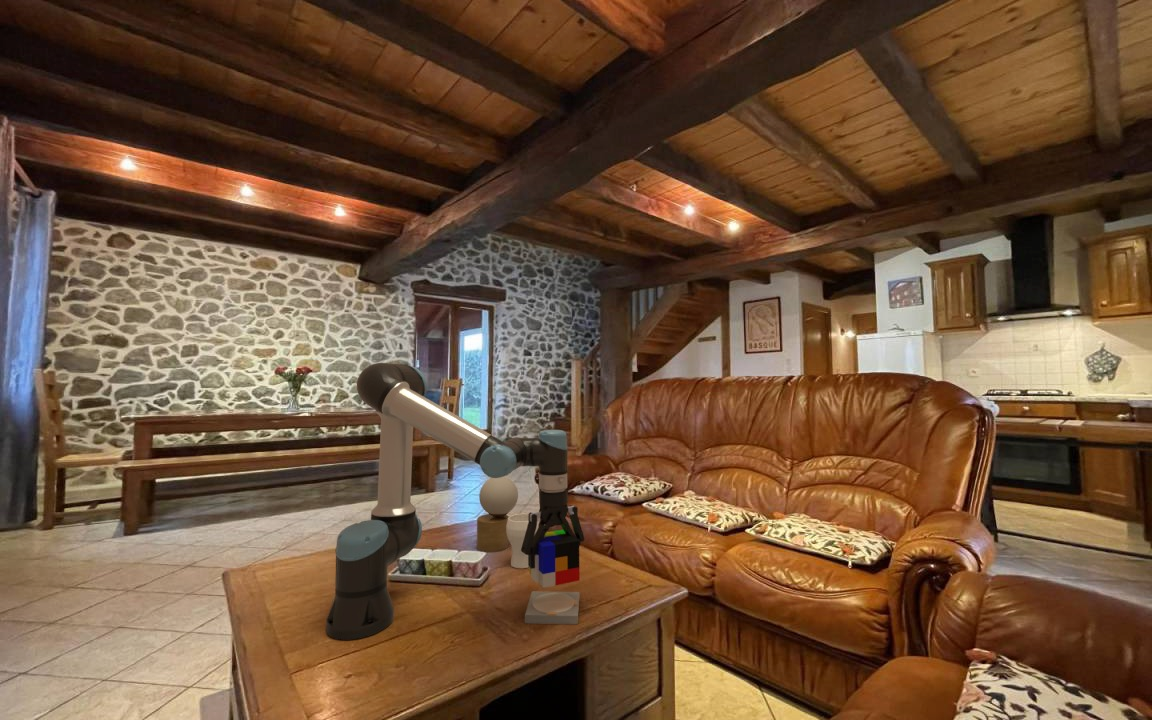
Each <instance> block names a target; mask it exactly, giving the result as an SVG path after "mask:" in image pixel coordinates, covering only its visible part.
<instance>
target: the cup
mask: <svg viewBox="0 0 1152 720" xmlns="http://www.w3.org/2000/svg"><path fill="white" fill-rule="evenodd" d="M528 515H529V513H517V514H512V515H509V516H508V521H507V525H506V532H507V536H508V543H509V545H510V546H511V557H510V567H513V568H515V569H526V568H530V567H529V566H528V555H526V554H524V553H523V552H522V551H521V548H522V544H523V541H524V537H525V533H526V530H527V526H528V522H529V518H528ZM538 527H539V521H537V527H536V530H535V534H536V532H537V529H538Z"/></svg>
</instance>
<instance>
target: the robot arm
mask: <svg viewBox="0 0 1152 720" xmlns="http://www.w3.org/2000/svg"><path fill="white" fill-rule="evenodd" d="M356 390H357V394H358V397H359V398H360V399H361V400H362V402H363V403H365V404H366V405H367V406H369V407H370V408H371V409H374V410H375V414H377V415H378V416H379V417H380V436H379V437H380V440H379V456H378V457H379V458H378V459H379V460H378V463H379V464H378V481H377V482H378V486H377V505H376V506H375V507H374V508H373V509H372V510H371V511H370V520H368V519H367V520H363V521H360V522H356V523H353V524H350V525H349V526H347V527H344V529H342V530H341V531H340V532H339V534H338V535H337V538H336V545H335V546H336V547H335V579H334V580H335V582H334V583H335V585H334V587H335V591H334V593H335V594H334V599H333V601H332V604H331V606H330V609H329V612H328V615H327V618H326V622H325V633H326V635H327V634H328V635H329V636H330V637H329V636H328V635H327V636H328V637H329V638H331V637H332V638H331V639H334V638H335V640H339V641H343V640H344V641H348V640H349V641H350V640H351V641H352V640H358V639H362V638H367V637H369V636H373V635H375V634H377V633H380V632H382V631H383V630H385V629H386V628H388V627H389V626H390V625H391V624H392V623H393V621H394V615H395V610H394V609H395V607H394V604H393V601H392V599H391V595H390V592H389V590H388V567H389V566H392V564H393V563H395V562H396V561H398V560H399V559H401V558H403V557H405V556H406V555H408V554H409V553H411V551H413V549H414V548H415V547H416V546H417V545H418V544H419V542H420V539H421V537H422V534H423V533H422V532H423V526H422V525H423V524H422V522H421V519H420V518H418V515H417V511H416V509H417V507H416V506H415V505H413V503H412V501H411V495H412V470H413V467H412V466H413V465H412V464H413V444H414V443H413V440H414V428H415V429H417V430H418V431H420V432H422V433H424V434H425V435H427V436H429V437H431V438H432V439H434V440H436V441H437V442H439V443H441V444H443V445H445V446H446V447H447V448H449V449H451V450H453V451H455V452H456V453H458V454H460V455H462V456H463V457H465V458H467V459H469V460H470V461H472V462H474V463H476V464H477V465H479V466H480V468H481V470H482V472H483V473H484V474H485V475H486V476H487V477H489V478H500V477H503V476H504V477H507V476H509V475H510V474H511V473H512V472H513V471H515V470H517V469H518V468H520V467H538V470H539V471H538V487H539V492H538V493H539V494H538V495H539V497H538V499H539V500H538V503H539V510H538V512H534V513H533V512H531V511H530V512H529V513H528V514H529V515H528V518H529V522H528V526H527V530H526V533H525V537H524V541H523V544H522V548H521V551H522V552H523V553H524V554H526V555H528V566H529V567H528V568H529V569H530V568H531V574H530V579H531V580H532V581H534V582H535V583H538V582H539V555H537V554H536V553H537V551H538V548H539V547H538V543H540V542H542V540H543V538H544V536H545V534H546V532H549V529H550V528H552V527H555V526H561V529H562V530H564V532H565V533H566V534H568V535H570V536H571V535H572V536H573V537H575V538H576V539H578V540H579V547H580V546H581V543H583V542H584V541H585V535H584V532H583V529H582V526H581V522H580V519H579V516H578V514H579V513H578V507H577V506H575V505H573V504H570V505H569V506H568V503H569V501H568V500H569V499H568V497H569V496H568V494H569V492H568V451H569V450H568V449H569V447H568V438H567V432H566V431H564V430H561V429H544V430H543V429H542V430H541V431H539V433H538V437H511V436H507V437H499V438H498V437H495V436H493V435H492V434H490V433H489V432H487V431H485V430H484V429H482V428H480V427H478V426H476V425H475V424H473V423H471V422H470V421H468V420H466V419H464V418H462V417H461V416H458V415H457V414H456V413H453V412H452V411H450V410H448V409H446V408H444V407H443V406H441V405H439V404H438V403H436V402H434V401H432V400H430V399H428V398H427V397H426V395H427V391H428V382H427V378H426V376H425V375H424V373H422V371H421V370H420V369H418V368H417V367H415V366H412V365H408V364H404V363H399V364H398V363H388V362H375V363H373V364H370V365H369V366H367V367H365V368H364V369H363V370H362V371H361V372H360V374H359V375H358V377H357V381H356ZM568 515H569V519H570V522H571V526H572V528H571V526H570V523H569V521H568V519H567V518H566V516H568ZM539 519H540V520H539ZM537 521H538V524H539V527H538V529H537V532H536V534H535V530H536V527H537ZM539 521H540V522H539ZM572 529H573V530H572ZM534 534H535V536H534ZM366 636H367V637H366ZM340 639H341V640H340Z"/></svg>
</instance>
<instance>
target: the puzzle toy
mask: <svg viewBox="0 0 1152 720" xmlns="http://www.w3.org/2000/svg"><path fill="white" fill-rule="evenodd" d="M534 536H535V534H534ZM538 547H539V548H538V551H537V553H536V554H537V555H539V582H537V583H538V584H539V586H540V587H541V588H542V589H545V588H550V587H555V586H559V585H565V584H570V583H575V582H579V581H580V577H581V575H580V546H579V540H578V539H576V538H575V537H573V536H572V535H571V536H570V535H568V534H566V533H565V532H564V530H563V529H560V530H553V531H547V532H546V534H545V536H544V538H543V540H542V542H540V543H538ZM529 574H530V575H531V568H530V567H529Z"/></svg>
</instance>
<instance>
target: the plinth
mask: <svg viewBox="0 0 1152 720" xmlns="http://www.w3.org/2000/svg"><path fill="white" fill-rule="evenodd" d="M579 610H580V591H538V590H537V591H533V590H532V591H531V594H530V596H529V599H528V604H527V607H526V610H525V613H524V624H534V625H537V624H538V625H539V624H540V625H541V624H542V625H543V624H544V625H545V624H547V625H548V624H549V625H553V624H554V625H578V623H579Z"/></svg>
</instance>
